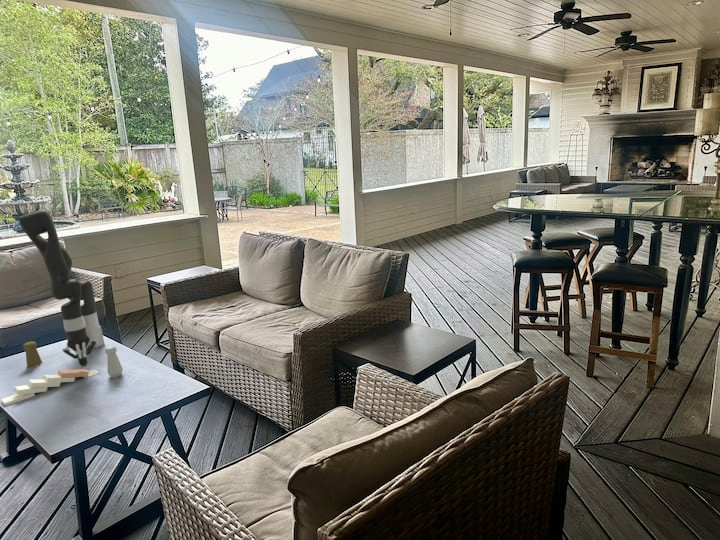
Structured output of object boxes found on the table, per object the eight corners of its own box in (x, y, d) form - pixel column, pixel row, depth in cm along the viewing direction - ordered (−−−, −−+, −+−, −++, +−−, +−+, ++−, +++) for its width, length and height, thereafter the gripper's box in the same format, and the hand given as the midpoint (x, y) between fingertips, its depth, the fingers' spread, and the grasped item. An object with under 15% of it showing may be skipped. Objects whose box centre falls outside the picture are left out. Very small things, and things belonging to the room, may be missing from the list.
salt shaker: (126, 372, 211) (120, 344, 208) (118, 378, 206) (112, 349, 202) (113, 372, 212) (107, 344, 209) (105, 379, 206) (99, 350, 203)
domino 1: (30, 389, 199) (1, 399, 192) (34, 392, 196) (4, 403, 189) (31, 393, 200) (2, 403, 193) (35, 396, 196) (5, 407, 189)
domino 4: (71, 374, 209) (44, 374, 202) (75, 377, 206) (47, 378, 199) (70, 378, 209) (43, 379, 202) (74, 381, 206) (46, 382, 199)
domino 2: (43, 383, 202) (14, 386, 195) (47, 387, 199) (18, 390, 191) (43, 387, 202) (14, 391, 195) (46, 391, 199) (17, 394, 191)
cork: (28, 364, 228) (22, 341, 225) (43, 360, 230) (37, 338, 227) (25, 369, 222) (20, 346, 219) (41, 365, 225) (35, 343, 222)
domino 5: (84, 369, 213) (58, 370, 206) (88, 372, 210) (62, 373, 202) (84, 373, 213) (57, 374, 206) (88, 376, 210) (61, 377, 202)
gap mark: (94, 369, 216) (94, 369, 216) (99, 373, 212) (99, 372, 212) (79, 374, 212) (79, 374, 212) (84, 378, 208) (84, 378, 208)
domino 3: (56, 378, 205) (28, 379, 198) (60, 382, 202) (32, 383, 195) (55, 383, 205) (27, 384, 198) (59, 386, 202) (31, 387, 195)
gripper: (60, 334, 199) (69, 373, 203) (95, 324, 208) (103, 362, 212) (54, 330, 204) (63, 369, 208) (88, 320, 213) (96, 357, 217)
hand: (83, 365), depth 210 cm, fingers closed
